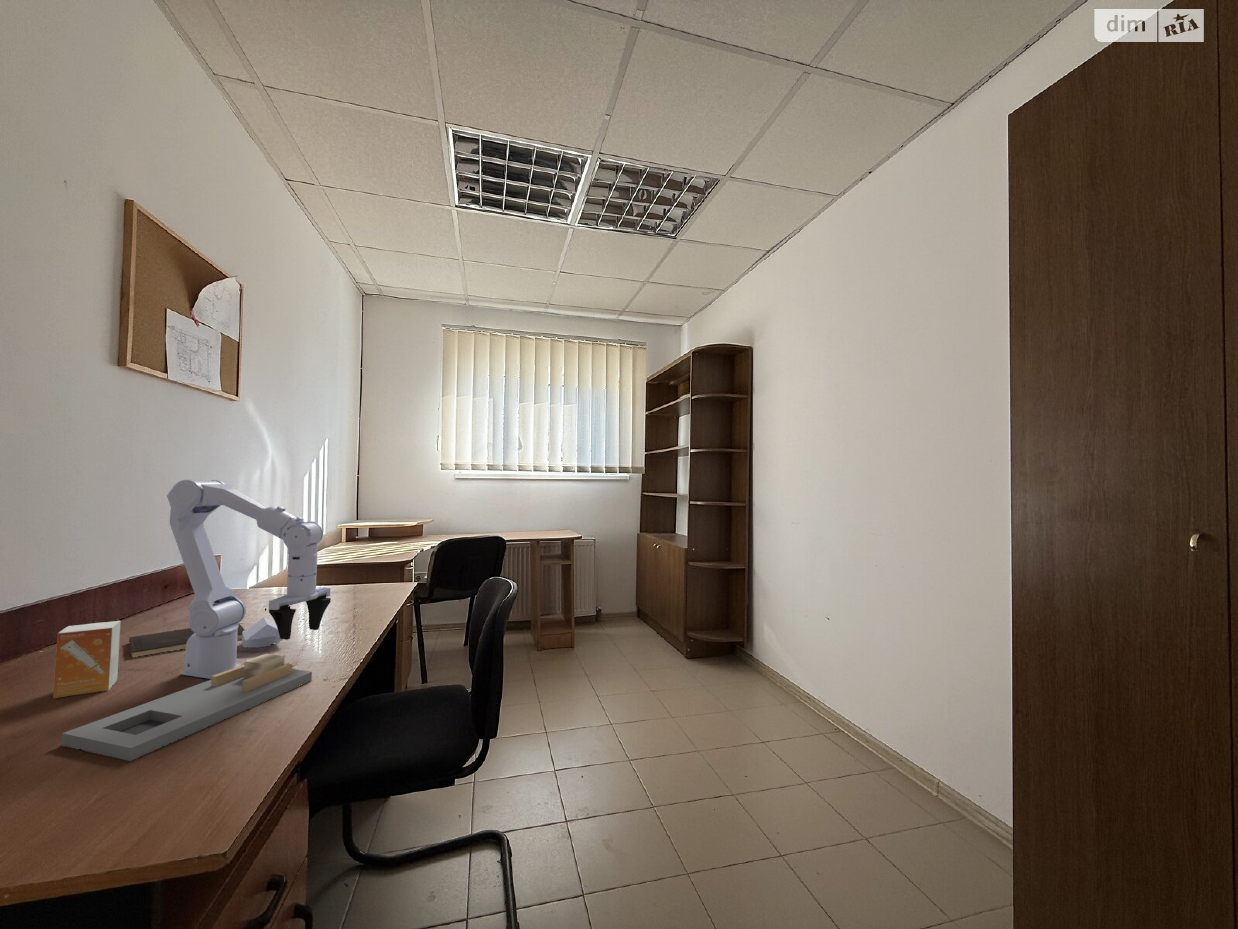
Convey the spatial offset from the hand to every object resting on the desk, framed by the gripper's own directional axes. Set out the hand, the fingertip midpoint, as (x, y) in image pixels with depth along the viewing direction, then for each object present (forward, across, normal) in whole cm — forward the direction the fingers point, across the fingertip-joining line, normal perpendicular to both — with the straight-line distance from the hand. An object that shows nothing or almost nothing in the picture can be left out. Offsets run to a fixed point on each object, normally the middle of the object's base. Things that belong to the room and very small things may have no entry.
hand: (299, 634), depth 116 cm
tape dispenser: (+9, +12, +25) cm, 29 cm away
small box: (+9, -21, +32) cm, 39 cm away
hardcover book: (+9, +8, +46) cm, 48 cm away
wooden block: (+6, -8, 0) cm, 10 cm away
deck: (+8, -20, 0) cm, 22 cm away
